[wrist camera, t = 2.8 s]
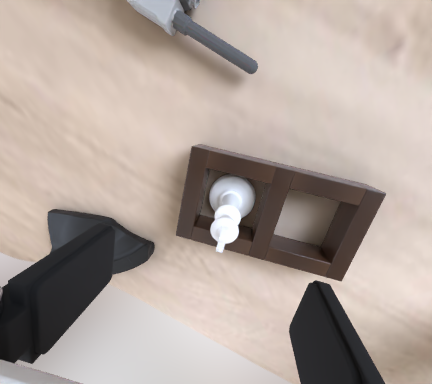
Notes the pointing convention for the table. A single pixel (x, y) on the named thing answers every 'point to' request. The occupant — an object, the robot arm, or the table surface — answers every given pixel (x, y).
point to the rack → (271, 208)
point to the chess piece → (229, 207)
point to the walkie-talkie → (190, 28)
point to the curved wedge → (80, 222)
